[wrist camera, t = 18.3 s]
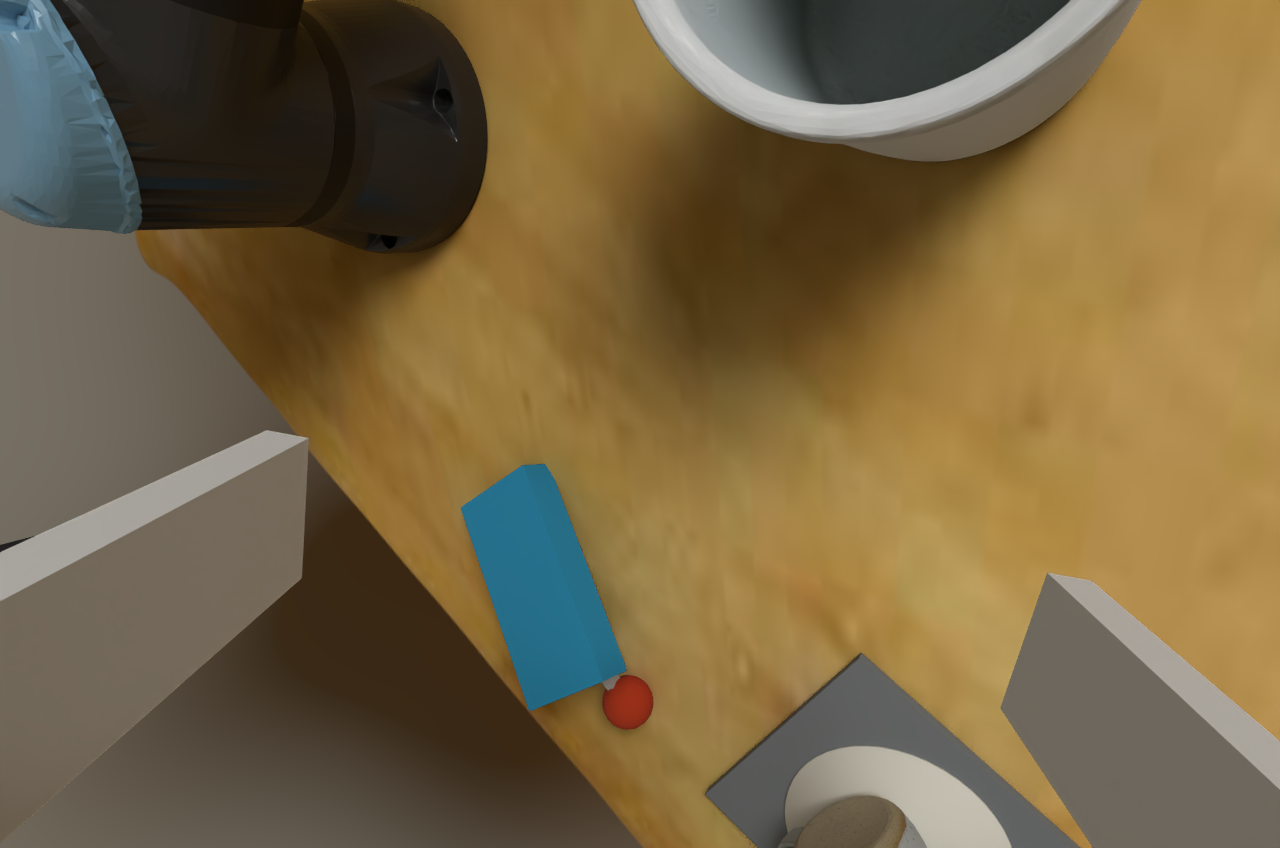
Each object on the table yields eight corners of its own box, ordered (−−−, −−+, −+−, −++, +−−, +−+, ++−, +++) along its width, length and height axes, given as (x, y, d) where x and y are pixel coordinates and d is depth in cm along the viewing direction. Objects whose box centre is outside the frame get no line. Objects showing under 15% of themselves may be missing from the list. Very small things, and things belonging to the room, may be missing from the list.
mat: (708, 788, 49) (703, 796, 48) (861, 652, 41) (858, 660, 41) (925, 1003, 45) (924, 1016, 44) (1137, 898, 38) (1139, 911, 37)
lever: (531, 499, 56) (616, 731, 51) (460, 507, 50) (548, 769, 45) (591, 460, 52) (689, 705, 48) (522, 464, 47) (626, 743, 42)
